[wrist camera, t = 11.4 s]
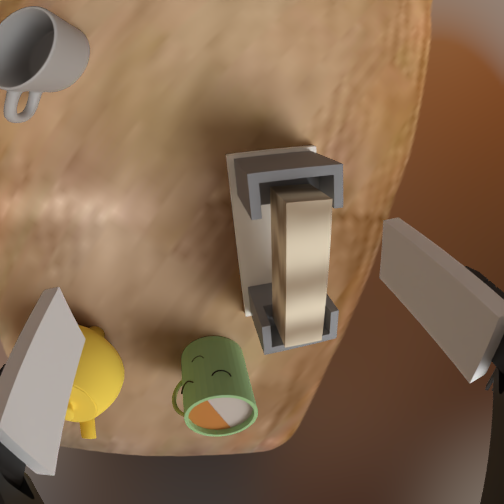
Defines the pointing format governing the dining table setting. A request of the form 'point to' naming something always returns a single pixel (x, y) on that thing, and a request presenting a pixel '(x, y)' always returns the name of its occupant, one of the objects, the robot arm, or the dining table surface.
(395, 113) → the dining table surface
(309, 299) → the rail
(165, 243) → the dining table surface
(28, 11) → the mug
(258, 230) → the bracket board
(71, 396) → the teapot
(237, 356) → the mug
